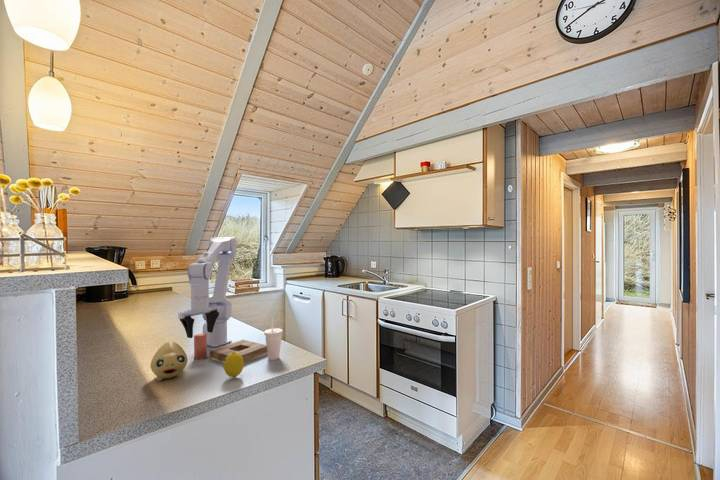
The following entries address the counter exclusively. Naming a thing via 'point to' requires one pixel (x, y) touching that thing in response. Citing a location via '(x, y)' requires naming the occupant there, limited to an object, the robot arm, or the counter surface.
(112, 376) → the counter surface
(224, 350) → the socket block
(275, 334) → the smoothie
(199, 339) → the reddish brown tall block
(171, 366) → the cream rounded figure
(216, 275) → the robot arm
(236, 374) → the lemon
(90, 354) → the counter surface
